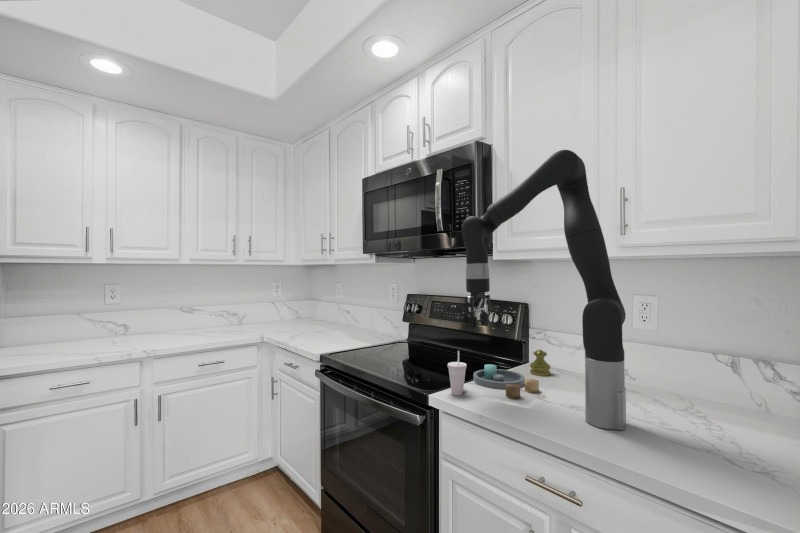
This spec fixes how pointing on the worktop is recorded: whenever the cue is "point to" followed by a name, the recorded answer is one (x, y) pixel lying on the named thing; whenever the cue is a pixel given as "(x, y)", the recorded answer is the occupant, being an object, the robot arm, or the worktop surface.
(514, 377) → the ring tray
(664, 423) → the worktop surface
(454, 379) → the smoothie
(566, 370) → the worktop surface
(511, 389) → the walnut bead
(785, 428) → the worktop surface
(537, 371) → the olive chess piece
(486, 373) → the teal bead
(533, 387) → the oak bead
